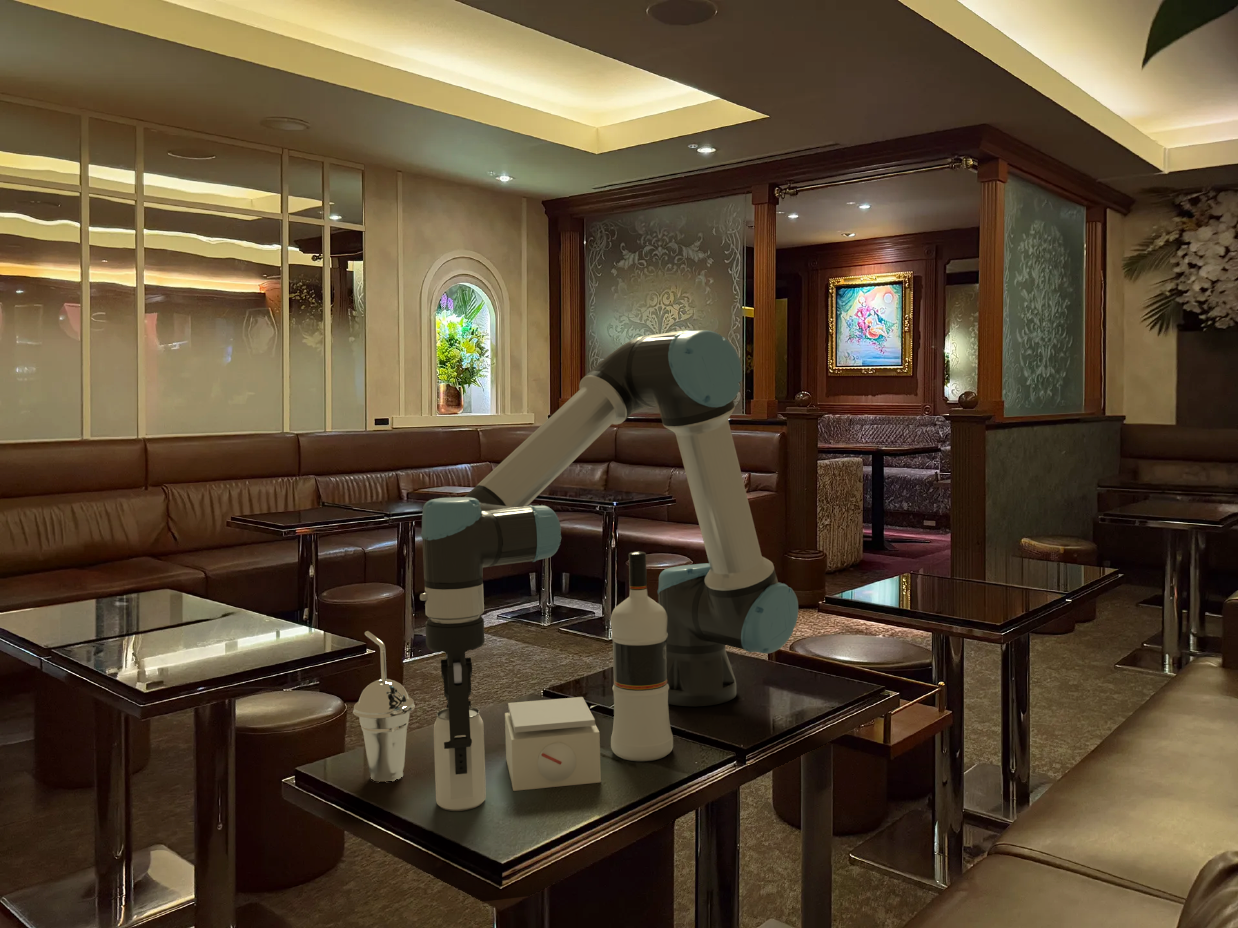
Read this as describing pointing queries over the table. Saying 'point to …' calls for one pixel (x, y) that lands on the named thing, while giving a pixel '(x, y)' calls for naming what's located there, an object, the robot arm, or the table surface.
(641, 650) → the vodka
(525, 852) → the table surface
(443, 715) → the can
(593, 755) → the scale
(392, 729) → the cup with straw
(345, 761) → the table surface
